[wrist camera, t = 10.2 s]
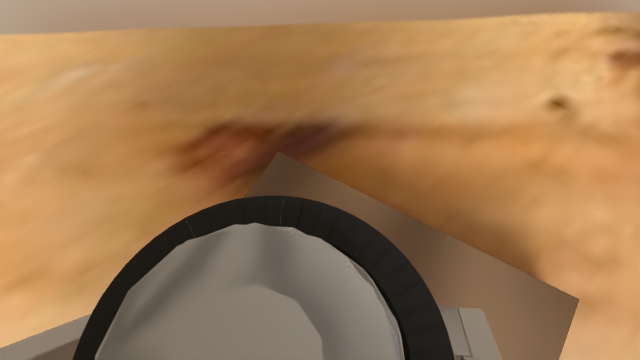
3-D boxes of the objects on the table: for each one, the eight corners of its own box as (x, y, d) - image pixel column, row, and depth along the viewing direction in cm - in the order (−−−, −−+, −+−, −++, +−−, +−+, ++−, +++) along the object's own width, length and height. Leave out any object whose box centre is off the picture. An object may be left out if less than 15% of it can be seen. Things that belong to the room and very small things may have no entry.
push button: (301, 245, 16) (249, 56, 7) (432, 317, 14) (574, 192, 6) (194, 419, 13) (-99, 467, 4) (339, 527, 12) (332, 911, 3)
